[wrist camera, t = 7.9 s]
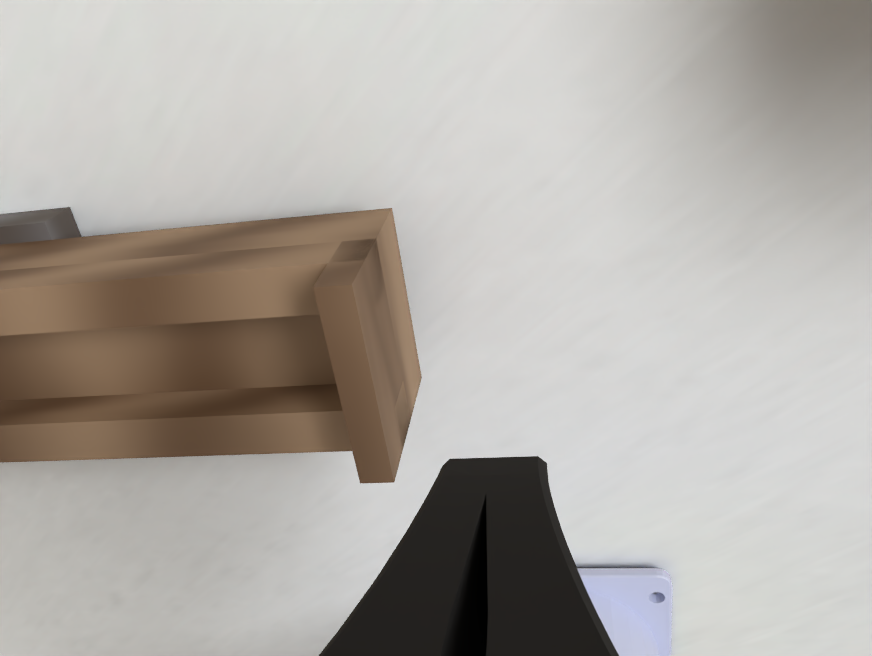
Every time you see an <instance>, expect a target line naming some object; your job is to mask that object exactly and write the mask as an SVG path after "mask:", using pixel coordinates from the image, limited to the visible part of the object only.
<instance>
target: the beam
mask: <svg viewBox="0 0 872 656" xmlns="http://www.w3.org/2000/svg"><path fill="white" fill-rule="evenodd" d="M421 378H422V377H421V371H420V366H419V360H418V354H417V349H416V343H415V337H414V331H413V326H412V320H411V314H410V309H409V303H408V297H407V292H406V286H405V280H404V274H403V269H402V263H401V257H400V252H399V246H398V240H397V234H396V229H395V223H394V217H393V212H392V208H388V209H377V210H366V211H356V212H345V213H334V214H324V215H313V216H302V217H291V218H281V219H270V220H259V221H248V222H238V223H227V224H216V225H205V226H195V227H184V228H173V229H162V230H152V231H141V232H130V233H119V234H109V235H98V236H87V237H81V235H80V232H79V229H78V227H77V224H76V222H75V219H74V217H73V214H72V212H71V209H70V207H68V208H58V209H48V210H38V211H28V212H19V213H9V214H0V462H27V461H58V460H88V459H119V458H150V457H180V456H211V455H241V454H272V453H303V452H333V451H353V455H354V459H355V463H356V467H357V472H358V476H359V480H360V483H388V482H394V481H395V477H396V473H397V470H398V466H399V462H400V458H401V454H402V450H403V447H404V443H405V439H406V435H407V431H408V427H409V424H410V420H411V416H412V412H413V408H414V405H415V401H416V397H417V393H418V389H419V385H420V382H421Z"/></svg>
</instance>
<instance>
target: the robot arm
mask: <svg viewBox="0 0 872 656" xmlns="http://www.w3.org/2000/svg"><path fill="white" fill-rule="evenodd" d="M655 592H659V593H657V594H653V593H655ZM671 632H672V581H671V577H670V574H669V573H668V572H667V571H665V570H663V569H659V568H577V567H576V565H575V562H574V560H573V558H572V555H571V553H570V550H569V548H568V546H567V543H566V540H565V538H564V535H563V532H562V529H561V526H560V523H559V520H558V517H557V514H556V511H555V508H554V504H553V500H552V497H551V493H550V488H549V483H548V473H547V463H546V462H544V461H543V460H542V459H541V458H539V457H538V456H535V457H501V458H468V459H449V460H448V461H447V462H446V463H445V464H444V465H443V466H442V468H441V470H440V473H439V475H438V477H437V479H436V480H435V482H434V484H433V486H432V488H431V490H430V492H429V494H428V495H427V497H426V499H425V501H424V503H423V504H422V506H421V508H420V510H419V511H418V513H417V515H416V516H415V518H414V520H413V521H412V523H411V525H410V527H409V528H408V530H407V532H406V533H405V535H404V536H403V538H402V539H401V541H400V543H399V544H398V546H397V547H396V549H395V550H394V552H393V553H392V555H391V557H390V558H389V560H388V561H387V563H386V564H385V566H384V567H383V569H382V571H381V572H380V574H379V575H378V577H377V578H376V579H375V581H374V582H373V584H372V585H371V587H370V588H369V589H368V591H367V592H366V594H365V595H364V596H363V598H362V599H361V600H360V602H359V603H358V605H357V606H356V607H355V609H354V610H353V611H352V613H351V614H350V616H349V617H348V618H347V620H346V621H345V622H344V624H343V625H342V627H341V628H340V629H339V631H338V632H337V633H336V635H335V636H334V637H333V638H332V640H331V641H330V642H329V643H328V645H327V646H326V647H325V648H324V650H323V651H322V652H321V654H320V655H319V656H671Z"/></svg>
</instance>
